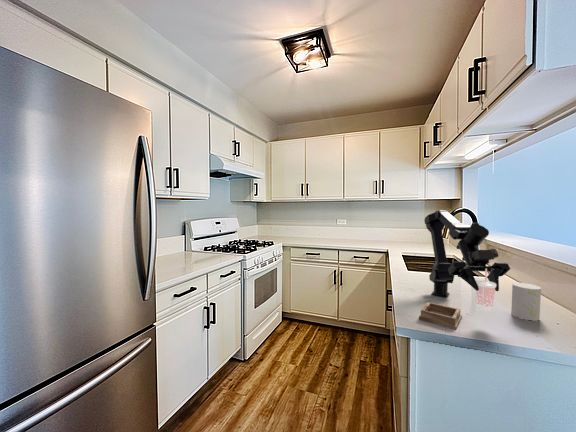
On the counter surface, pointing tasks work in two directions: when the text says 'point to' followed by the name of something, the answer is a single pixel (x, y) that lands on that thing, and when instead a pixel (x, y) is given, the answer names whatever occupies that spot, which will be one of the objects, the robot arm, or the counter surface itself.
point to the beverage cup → (485, 293)
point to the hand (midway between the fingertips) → (487, 290)
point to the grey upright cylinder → (526, 301)
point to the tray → (441, 315)
